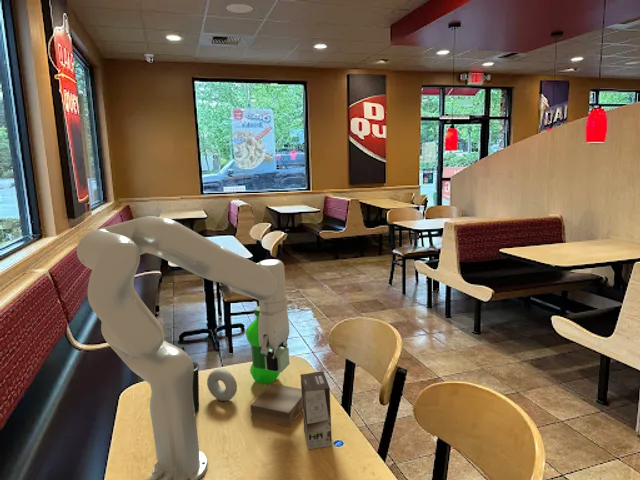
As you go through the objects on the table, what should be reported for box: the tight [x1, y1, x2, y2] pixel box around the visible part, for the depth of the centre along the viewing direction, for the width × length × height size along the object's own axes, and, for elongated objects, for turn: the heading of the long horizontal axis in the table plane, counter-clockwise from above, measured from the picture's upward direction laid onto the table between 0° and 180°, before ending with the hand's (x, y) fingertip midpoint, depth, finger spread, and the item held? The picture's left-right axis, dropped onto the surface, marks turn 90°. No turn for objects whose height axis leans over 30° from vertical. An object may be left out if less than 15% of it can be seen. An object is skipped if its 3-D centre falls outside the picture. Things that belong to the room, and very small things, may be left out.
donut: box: [206, 368, 238, 402], centre depth 134 cm, size 10×4×10 cm, turn 68°
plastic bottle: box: [245, 305, 281, 386], centre depth 142 cm, size 10×10×25 cm
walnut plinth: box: [250, 383, 303, 427], centre depth 128 cm, size 12×12×4 cm
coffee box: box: [299, 370, 333, 450], centre depth 114 cm, size 9×6×16 cm
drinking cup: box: [181, 346, 200, 414], centre depth 128 cm, size 8×8×20 cm
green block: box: [265, 346, 290, 373], centre depth 125 cm, size 5×5×5 cm
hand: (277, 364), depth 125 cm, fingers closed on green block, 5 cm apart
